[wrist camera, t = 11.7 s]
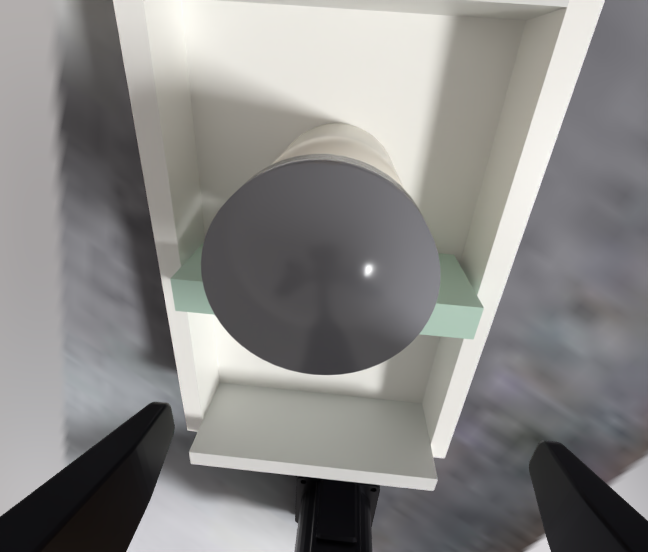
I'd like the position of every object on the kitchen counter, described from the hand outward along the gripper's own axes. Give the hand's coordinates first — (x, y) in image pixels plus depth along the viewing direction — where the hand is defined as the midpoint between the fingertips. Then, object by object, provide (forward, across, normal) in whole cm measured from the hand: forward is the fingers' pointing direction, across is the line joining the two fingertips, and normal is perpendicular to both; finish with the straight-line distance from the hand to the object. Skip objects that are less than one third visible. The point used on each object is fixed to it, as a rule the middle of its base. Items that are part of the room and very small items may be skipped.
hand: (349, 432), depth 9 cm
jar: (+11, +1, -3) cm, 11 cm away
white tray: (+12, +1, 0) cm, 12 cm away
